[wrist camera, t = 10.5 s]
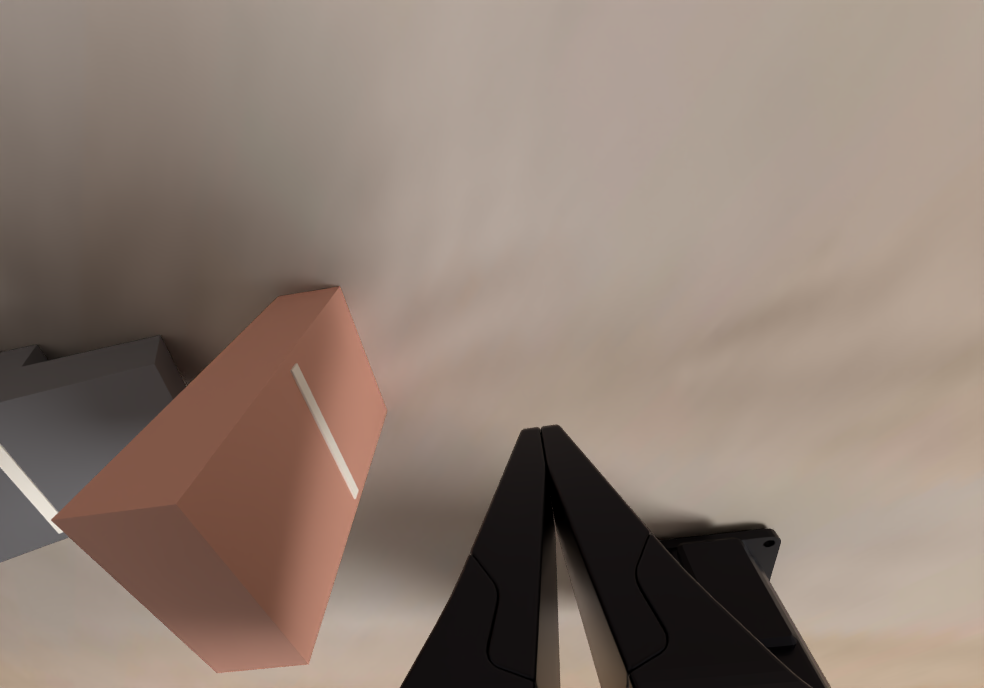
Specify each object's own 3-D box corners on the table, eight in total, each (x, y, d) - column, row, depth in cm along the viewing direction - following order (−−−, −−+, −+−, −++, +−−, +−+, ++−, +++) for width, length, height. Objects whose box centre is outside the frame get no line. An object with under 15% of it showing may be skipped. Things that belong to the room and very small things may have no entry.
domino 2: (217, 483, 15) (-120, 607, 11) (216, 447, 16) (-79, 546, 13) (154, 364, 12) (-302, 478, 9) (160, 334, 14) (-225, 422, 10)
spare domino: (388, 410, 16) (311, 663, 9) (333, 418, 16) (214, 672, 9) (341, 285, 13) (179, 503, 6) (276, 296, 13) (47, 520, 6)
